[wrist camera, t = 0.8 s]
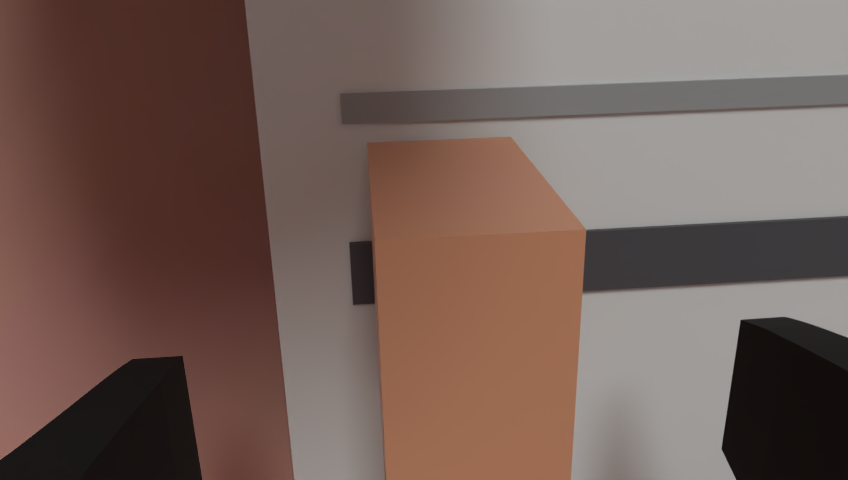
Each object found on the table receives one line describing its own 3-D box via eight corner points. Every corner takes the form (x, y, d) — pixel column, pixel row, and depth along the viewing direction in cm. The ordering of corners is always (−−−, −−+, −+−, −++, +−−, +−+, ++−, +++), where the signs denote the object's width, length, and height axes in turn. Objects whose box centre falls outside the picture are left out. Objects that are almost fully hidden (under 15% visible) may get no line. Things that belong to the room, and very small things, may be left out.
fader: (510, 136, 13) (586, 229, 9) (505, 392, 15) (564, 568, 10) (366, 142, 12) (374, 240, 8) (380, 400, 14) (391, 583, 10)
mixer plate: (1142, -162, 14) (1239, -174, 12) (890, 699, 22) (930, 755, 20) (242, -149, 12) (227, -160, 11) (331, 758, 21) (329, 821, 19)
